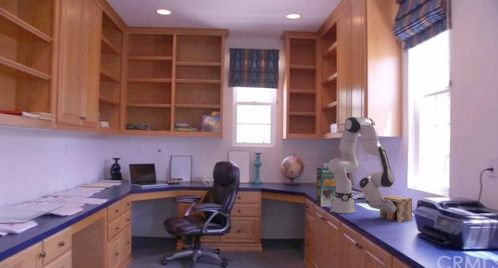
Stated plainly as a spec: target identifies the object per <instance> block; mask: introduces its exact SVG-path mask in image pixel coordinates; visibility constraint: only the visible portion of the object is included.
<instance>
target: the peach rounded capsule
mask: <svg viewBox="0 0 498 268" xmlns="http://www.w3.org/2000/svg"><path fill="white" fill-rule="evenodd" d="M395 219H396V217H395V212H390V213H389V214H387V217H386V220H389V221H395Z"/></svg>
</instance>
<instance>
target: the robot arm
mask: <svg viewBox="0 0 498 268" xmlns="http://www.w3.org/2000/svg"><path fill="white" fill-rule="evenodd" d="M375 122H376V121H374V120H373V119H372V118H369V117H362V116H361V117H359V116H358V117H357V116H356V117H355V116H350V117H348V118H346V119H345V122H344V127H343V130H342V133H341V137H340V143H339V151H340V152H341V154H342V157H335V158H332V159H330V160H329V162H328V165H327V166H328V167H327V168H329V170H330V171H331V172H332V173H333V175H334V177H335V182H336V192H335V199H334V200H333V201H332V202H331V205H332V206H330V210H329V212H330V213H337V214H355V213H357V212H358V211H357V210H356V209H355V200H354V199H353V192H352V180H351V179H349V177H348V175H347V174H351V173H355V172H357V171H358V170H359V168H360V167H359V166H360V163H359V161H358V160H357V158H356V148H357V142H358V138H359V137H358V136H359V135H360V138H361V146H362V147H361V148H362V149H363V151H364V152H365V153H366V154H369V155H371V156H375V157H377V158H378V161H379V165H380V167H381V171H380V172H379V171H378V172H370V173H368V174H366V176H365V177H363V178H362V179H360V180H359V182H358V183H359V184H358V185H359V186H358V187H359V189H360V191H361V192H362V193H363V195H364V196H365V198H364V202H365V203H366V204H367V205H368V206H369V207H370V208H372V209H376V210H379V211H380V210H382V211H383V212H384V213H386V214H389V213H390V212H395V210H396V206H395V205H394V204H393V203H392V202H391V201H389V200H384V196H385V195H383V193H382V192H381V191H380V190H379V188H391V186H393V185H394V183H395V176H394V174H393V171H392V168H391V165H390V162H389V159H388V155H387V152H386V149H385V148H384V146H382V145H381V143H380V137H379V133H378V130H377V127H376V123H375Z"/></svg>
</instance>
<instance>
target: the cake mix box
mask: <svg viewBox="0 0 498 268" xmlns="http://www.w3.org/2000/svg"><path fill="white" fill-rule="evenodd" d="M335 192H336V182H335V177H334V175H333V173H332V172H331V171H330V170H329V168H328V167H316V206H317V207H320V208H323V207H332V205H331V202H332V201H333V200H334V199H335Z"/></svg>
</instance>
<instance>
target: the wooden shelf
mask: <svg viewBox="0 0 498 268" xmlns="http://www.w3.org/2000/svg"><path fill="white" fill-rule="evenodd" d="M383 196H384V200H389V201H391V202H392V203H393V204H394V205H395V206H396V210H395V218H396V222H398V223H400V222H408V221H412V220H413V198H409V197H404V196H397V195H383ZM379 218H387V214H386V213H384V212H383V211H382V210H380V209H379Z"/></svg>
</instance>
